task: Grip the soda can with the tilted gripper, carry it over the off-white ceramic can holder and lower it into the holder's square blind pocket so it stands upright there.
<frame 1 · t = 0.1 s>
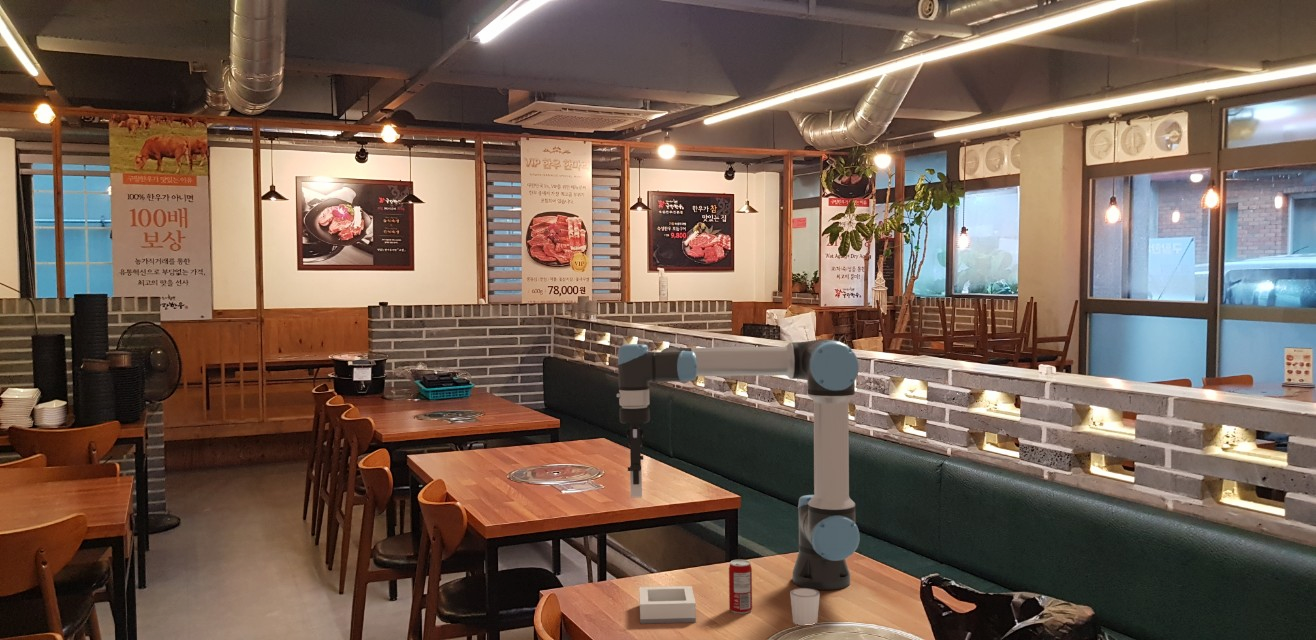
hand: (636, 491, 238), 28 cm above the table, tool pointing down, fingers open, 13 cm apart
soda can: (740, 611, 232), on the table
can holder: (666, 613, 231), on the table
shot glass: (805, 622, 224), on the table
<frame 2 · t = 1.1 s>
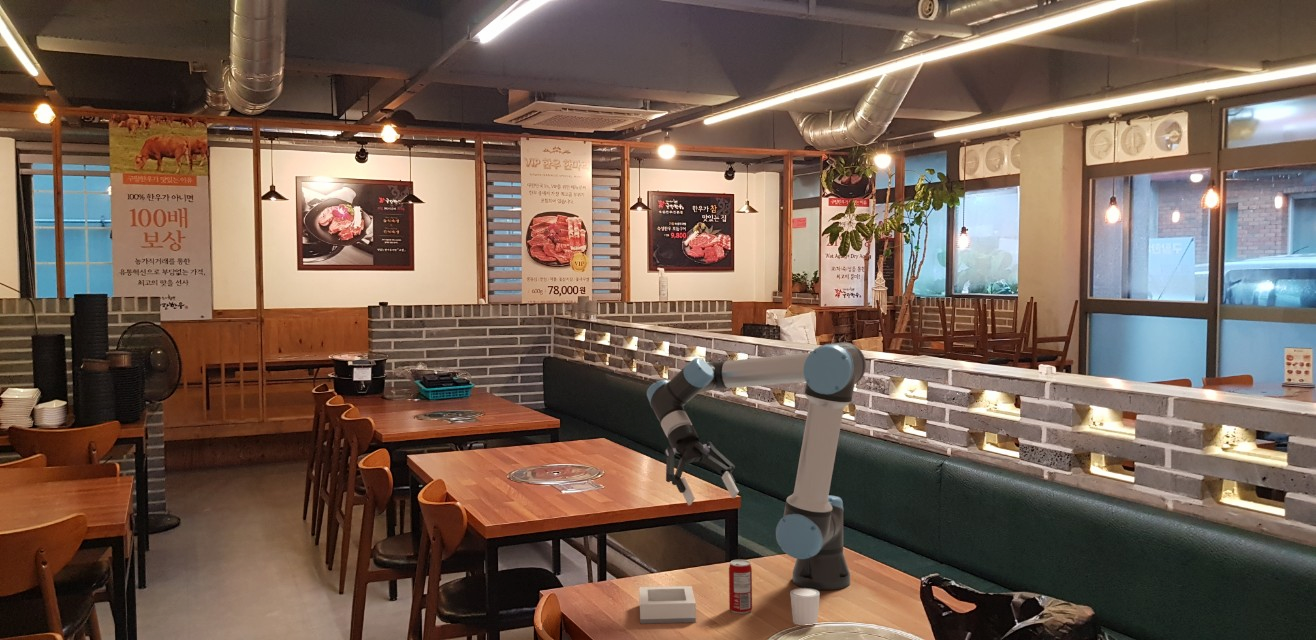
hand: (714, 498, 240), 25 cm above the table, tool tilted 45°, fingers open, 13 cm apart
nothing on the table moved.
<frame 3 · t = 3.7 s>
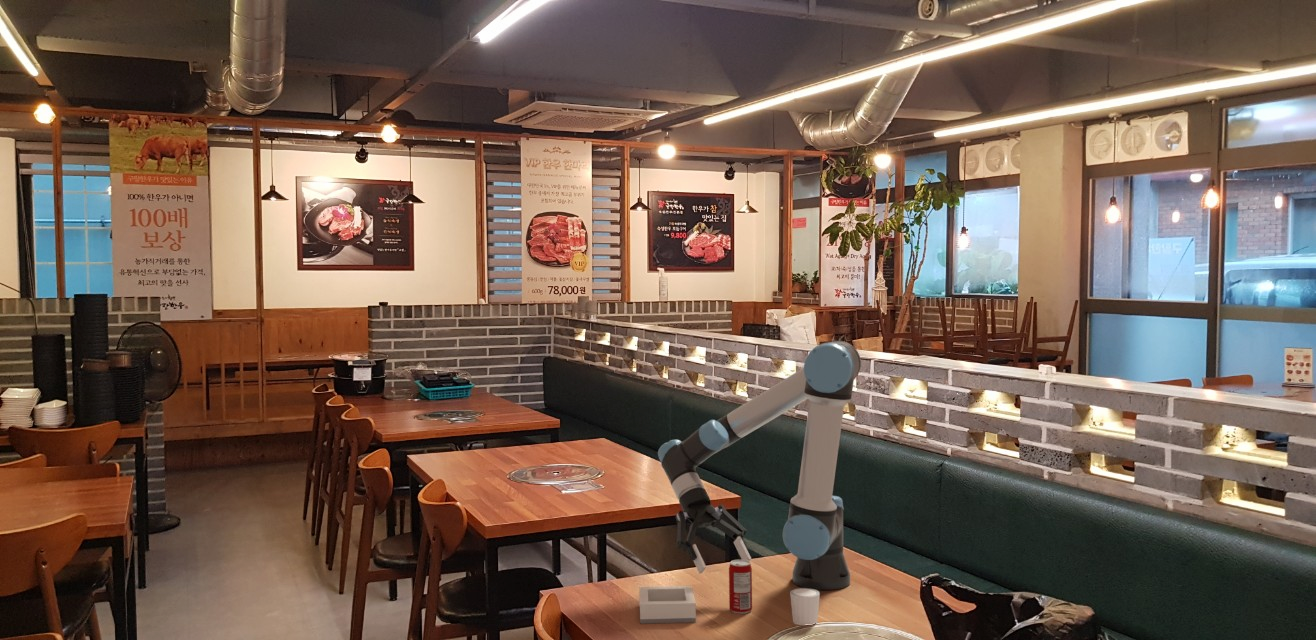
hand: (725, 566, 235), 10 cm above the table, tool tilted 45°, fingers open, 13 cm apart
nothing on the table moved.
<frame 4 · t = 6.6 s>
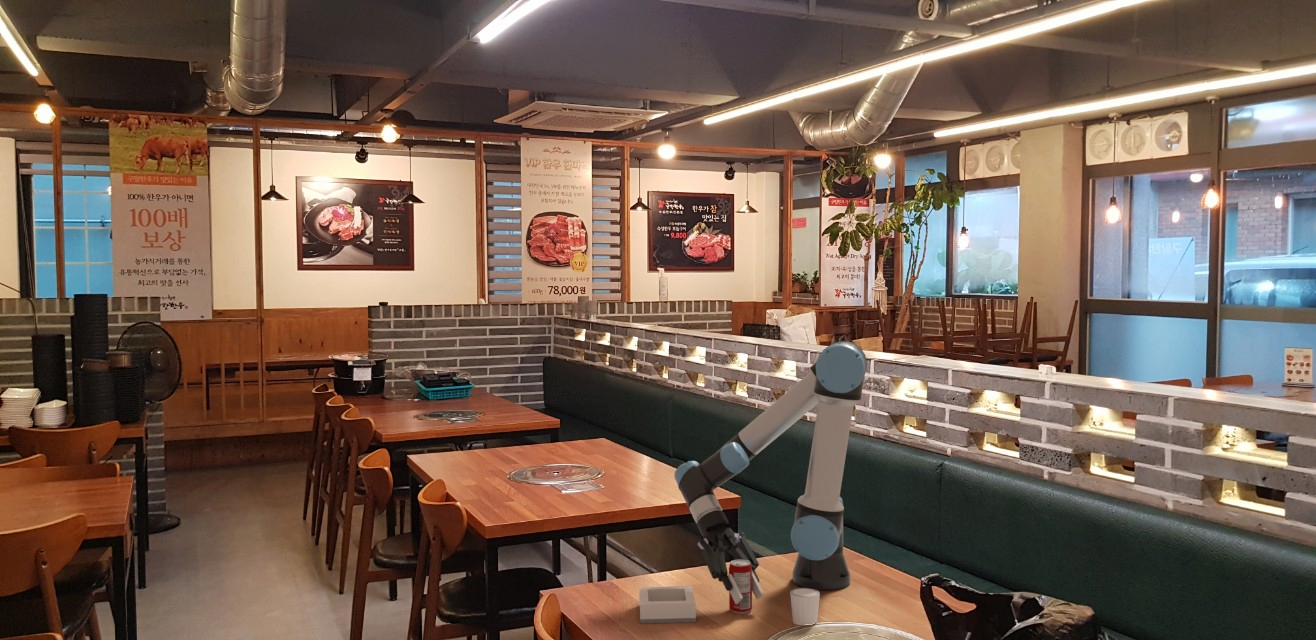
hand: (749, 598, 229), 4 cm above the table, tool tilted 45°, fingers closed on soda can, 5 cm apart
soda can: (740, 611, 232), on the table, touching gripper
everything else where it was.
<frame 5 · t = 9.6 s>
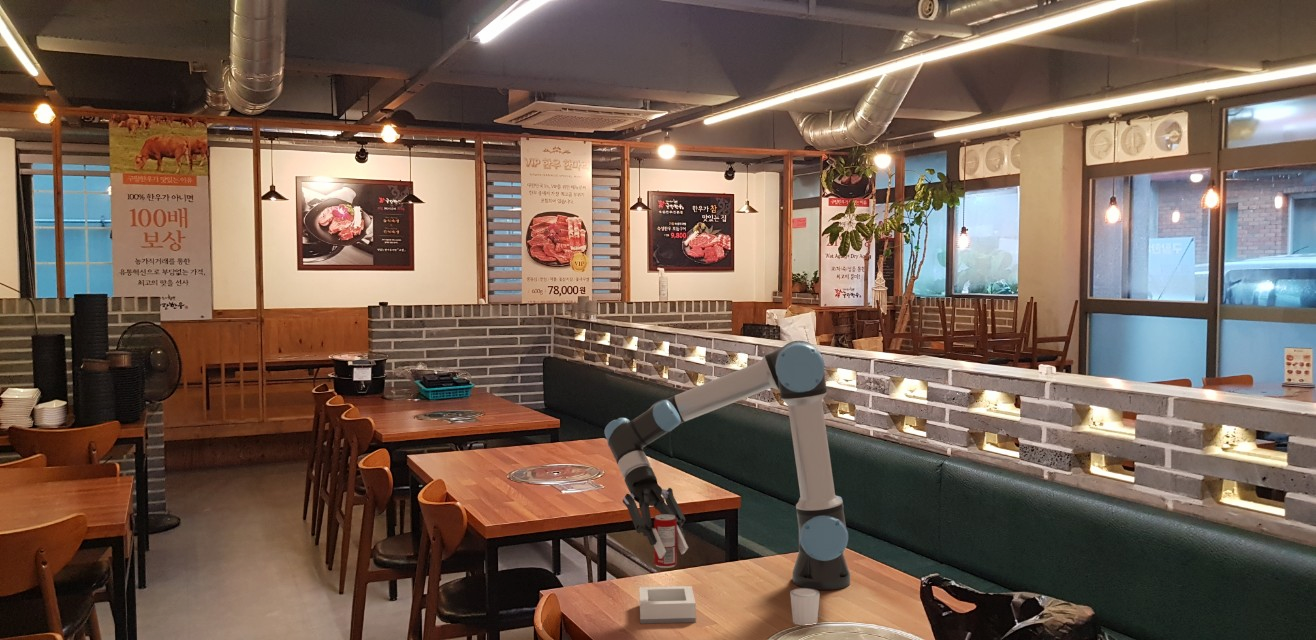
hand: (673, 552, 227), 16 cm above the table, tool tilted 45°, fingers closed on soda can, 5 cm apart
soda can: (665, 565, 230), point 12 cm above the table, touching gripper
everything else where it was.
when the fingers open (6 cm above the table, at t = 12.6 s): soda can drops 1 cm, resting on can holder.
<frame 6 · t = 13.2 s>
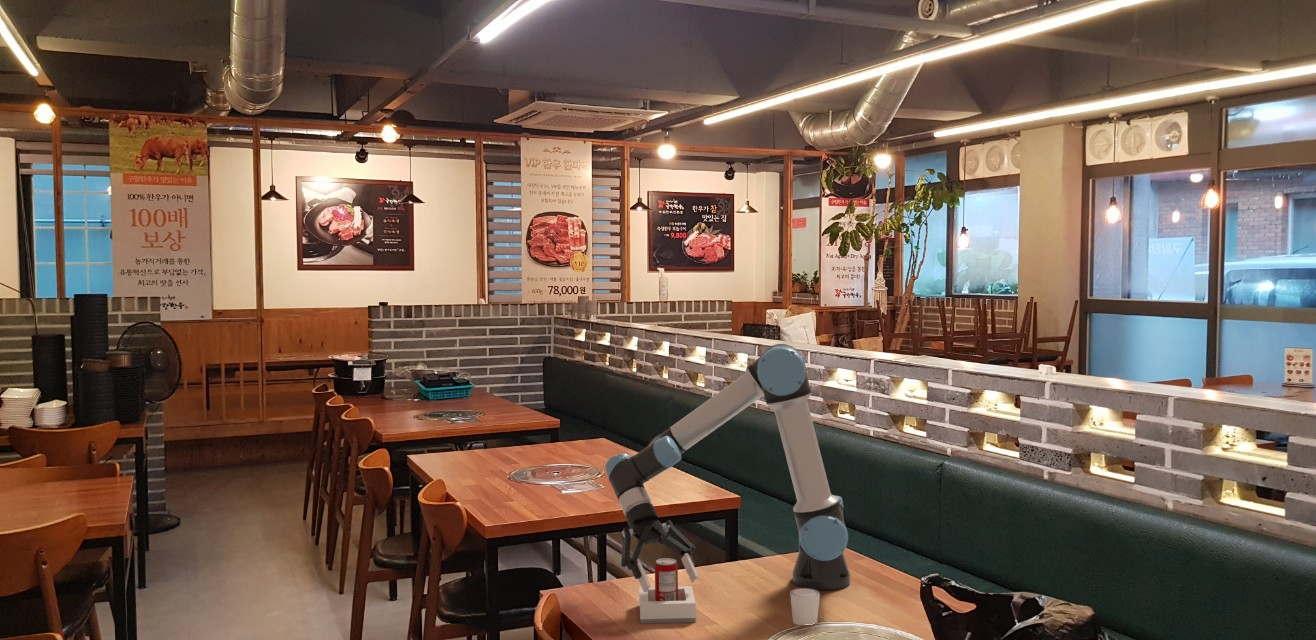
hand: (671, 584, 228), 8 cm above the table, tool tilted 45°, fingers open, 13 cm apart
soda can: (666, 610, 231), point 1 cm above the table, touching can holder
everything else where it was.
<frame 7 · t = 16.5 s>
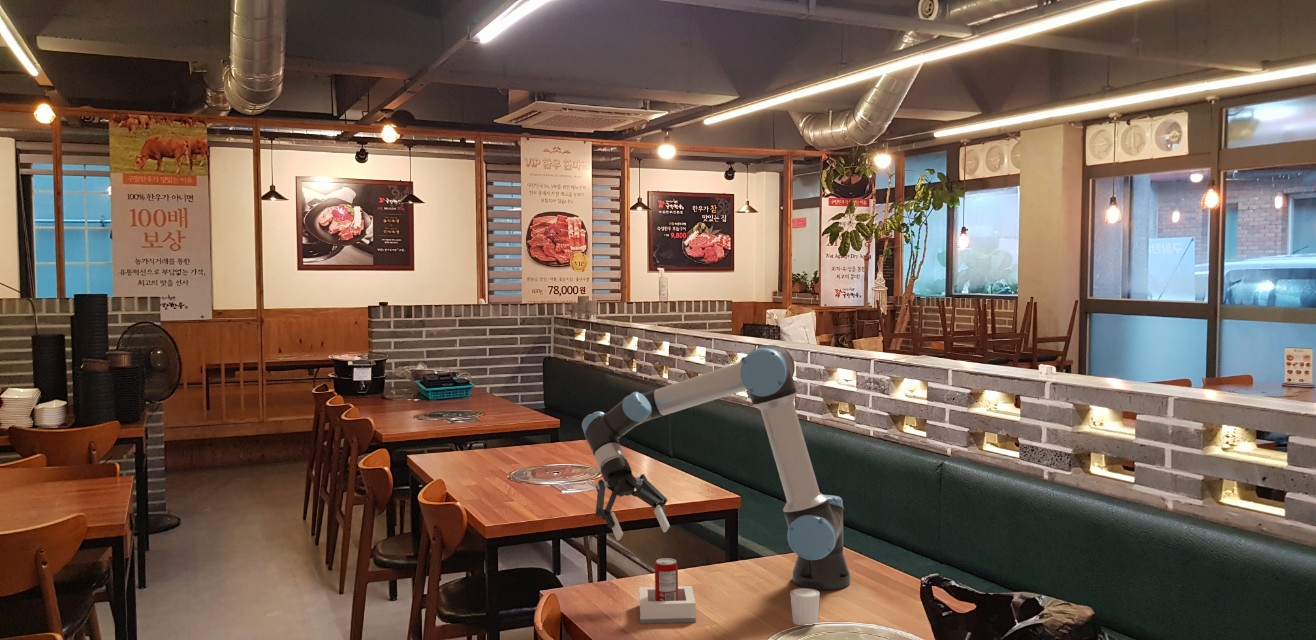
hand: (643, 533, 239), 17 cm above the table, tool tilted 45°, fingers open, 13 cm apart
nothing on the table moved.
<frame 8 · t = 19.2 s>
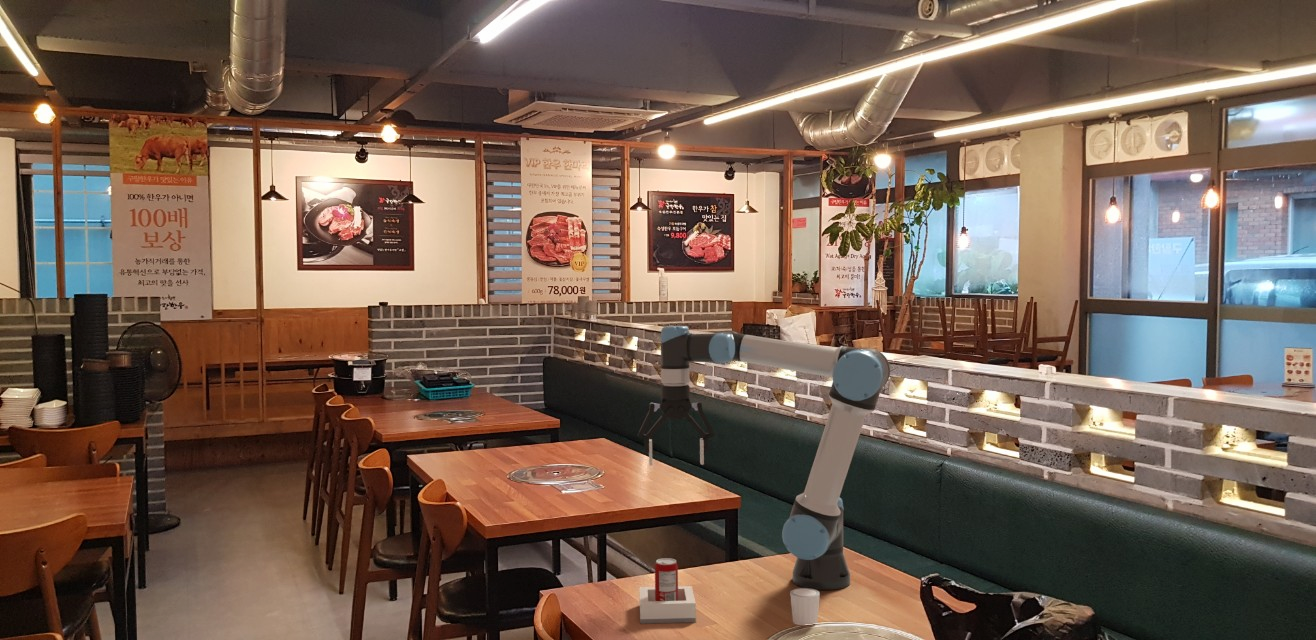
hand: (676, 464, 254), 32 cm above the table, tool pointing down, fingers open, 13 cm apart
nothing on the table moved.
at the end: soda can 0.1 cm off-centre on the can holder, point 0.8 cm above the can holder's base; soda can tilted 0°; the gripper is holding nothing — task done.
